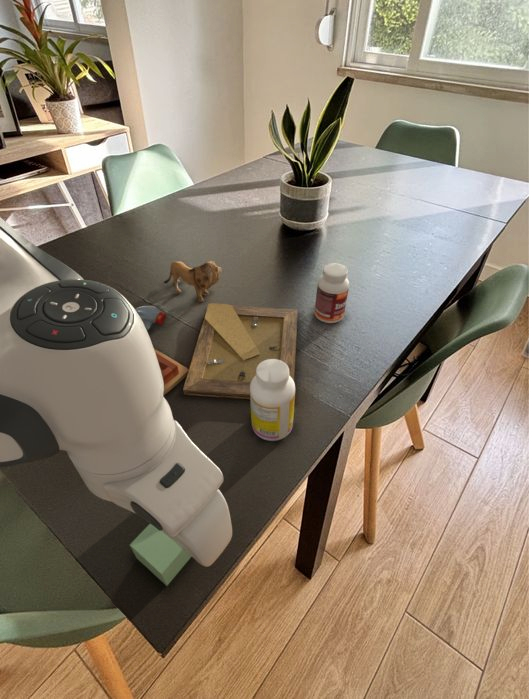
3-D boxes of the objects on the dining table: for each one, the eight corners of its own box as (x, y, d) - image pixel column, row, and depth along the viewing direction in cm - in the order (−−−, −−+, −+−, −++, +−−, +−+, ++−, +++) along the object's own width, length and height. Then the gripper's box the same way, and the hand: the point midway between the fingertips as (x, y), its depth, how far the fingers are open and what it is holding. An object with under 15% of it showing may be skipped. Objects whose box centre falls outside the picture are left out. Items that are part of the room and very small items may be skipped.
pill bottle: (337, 328, 86) (344, 282, 78) (309, 318, 88) (313, 273, 80) (348, 311, 90) (356, 266, 82) (321, 302, 92) (326, 258, 84)
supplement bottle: (279, 403, 72) (282, 348, 63) (300, 432, 67) (306, 377, 59) (244, 418, 69) (241, 363, 61) (263, 449, 65) (263, 394, 56)
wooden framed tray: (134, 420, 69) (130, 408, 67) (92, 389, 74) (87, 377, 72) (190, 373, 77) (188, 361, 75) (148, 348, 81) (145, 336, 79)
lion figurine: (226, 293, 94) (224, 258, 88) (215, 307, 91) (212, 271, 84) (170, 278, 98) (163, 244, 92) (157, 291, 95) (149, 255, 89)
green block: (166, 586, 51) (161, 574, 49) (136, 557, 54) (129, 544, 51) (198, 548, 54) (194, 535, 52) (168, 523, 57) (163, 509, 54)
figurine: (123, 331, 84) (125, 314, 87) (163, 335, 86) (165, 319, 89) (123, 313, 81) (126, 297, 84) (166, 318, 83) (167, 302, 86)
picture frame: (209, 309, 90) (184, 395, 73) (208, 303, 89) (182, 388, 72) (297, 315, 89) (292, 403, 72) (297, 308, 88) (293, 396, 71)
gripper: (30, 415, 41) (75, 487, 50) (184, 544, 32) (204, 602, 41) (85, 375, 44) (118, 450, 54) (238, 482, 35) (245, 548, 45)
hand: (156, 517), depth 47 cm, fingers open, 8 cm apart
